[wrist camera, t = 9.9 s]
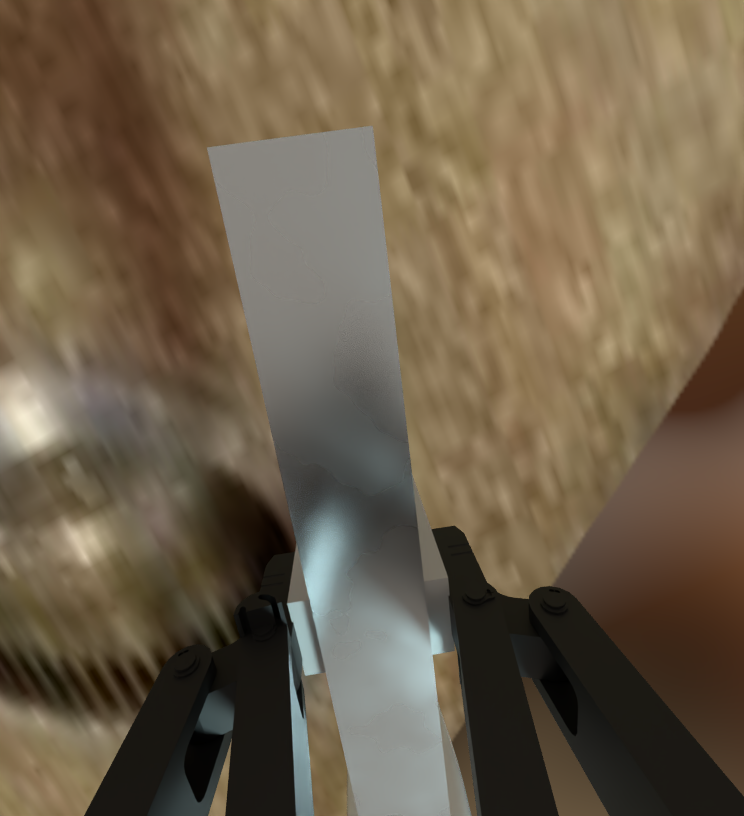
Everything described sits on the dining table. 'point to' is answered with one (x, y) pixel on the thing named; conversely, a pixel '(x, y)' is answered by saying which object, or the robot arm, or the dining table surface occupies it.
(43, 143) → the dining table surface
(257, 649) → the robot arm
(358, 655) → the steel rail
